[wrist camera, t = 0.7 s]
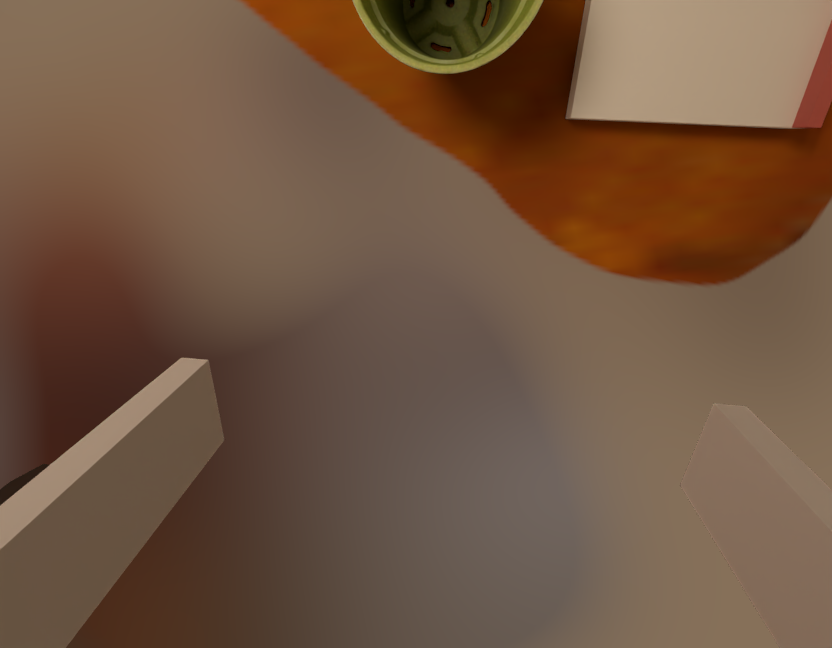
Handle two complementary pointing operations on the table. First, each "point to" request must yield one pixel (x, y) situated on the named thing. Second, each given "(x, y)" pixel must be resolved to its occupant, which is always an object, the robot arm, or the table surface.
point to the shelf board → (704, 62)
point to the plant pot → (446, 30)
